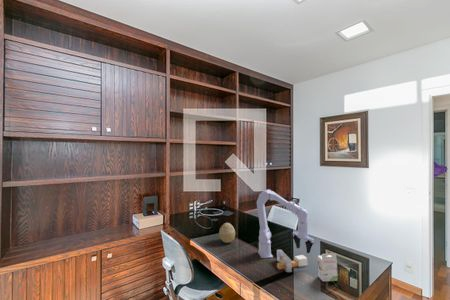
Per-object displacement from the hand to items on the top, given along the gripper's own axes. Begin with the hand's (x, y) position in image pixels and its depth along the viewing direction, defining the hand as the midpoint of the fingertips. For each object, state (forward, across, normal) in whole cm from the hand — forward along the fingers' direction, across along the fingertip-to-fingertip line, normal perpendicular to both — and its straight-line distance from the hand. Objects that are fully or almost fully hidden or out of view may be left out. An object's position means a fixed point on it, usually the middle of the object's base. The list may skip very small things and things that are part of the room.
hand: (303, 250), depth 131 cm
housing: (+8, -5, -12) cm, 15 cm away
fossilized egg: (+9, -54, -23) cm, 59 cm away
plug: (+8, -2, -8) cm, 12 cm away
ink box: (+8, +18, -2) cm, 20 cm away
